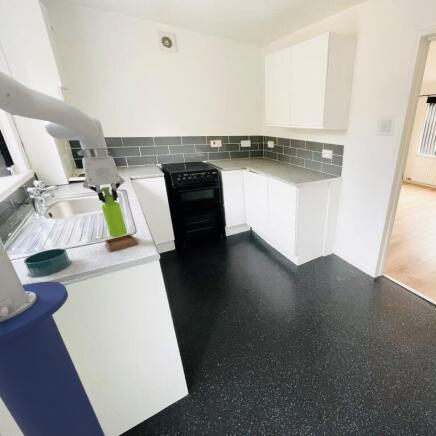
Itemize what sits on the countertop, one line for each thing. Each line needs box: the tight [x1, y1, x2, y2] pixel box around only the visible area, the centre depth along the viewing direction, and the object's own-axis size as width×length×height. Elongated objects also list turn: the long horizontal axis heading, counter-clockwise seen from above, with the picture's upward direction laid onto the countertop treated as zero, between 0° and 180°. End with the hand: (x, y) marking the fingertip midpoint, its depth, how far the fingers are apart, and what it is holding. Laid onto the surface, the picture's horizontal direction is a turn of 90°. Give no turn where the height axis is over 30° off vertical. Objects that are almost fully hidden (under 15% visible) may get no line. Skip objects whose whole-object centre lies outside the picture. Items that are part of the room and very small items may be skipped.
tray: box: [104, 233, 138, 253], centre depth 103 cm, size 10×10×2 cm
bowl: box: [23, 248, 71, 278], centre depth 85 cm, size 11×11×5 cm
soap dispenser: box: [100, 186, 128, 238], centre depth 98 cm, size 6×7×20 cm
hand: (109, 200), depth 97 cm, fingers closed on soap dispenser, 3 cm apart
